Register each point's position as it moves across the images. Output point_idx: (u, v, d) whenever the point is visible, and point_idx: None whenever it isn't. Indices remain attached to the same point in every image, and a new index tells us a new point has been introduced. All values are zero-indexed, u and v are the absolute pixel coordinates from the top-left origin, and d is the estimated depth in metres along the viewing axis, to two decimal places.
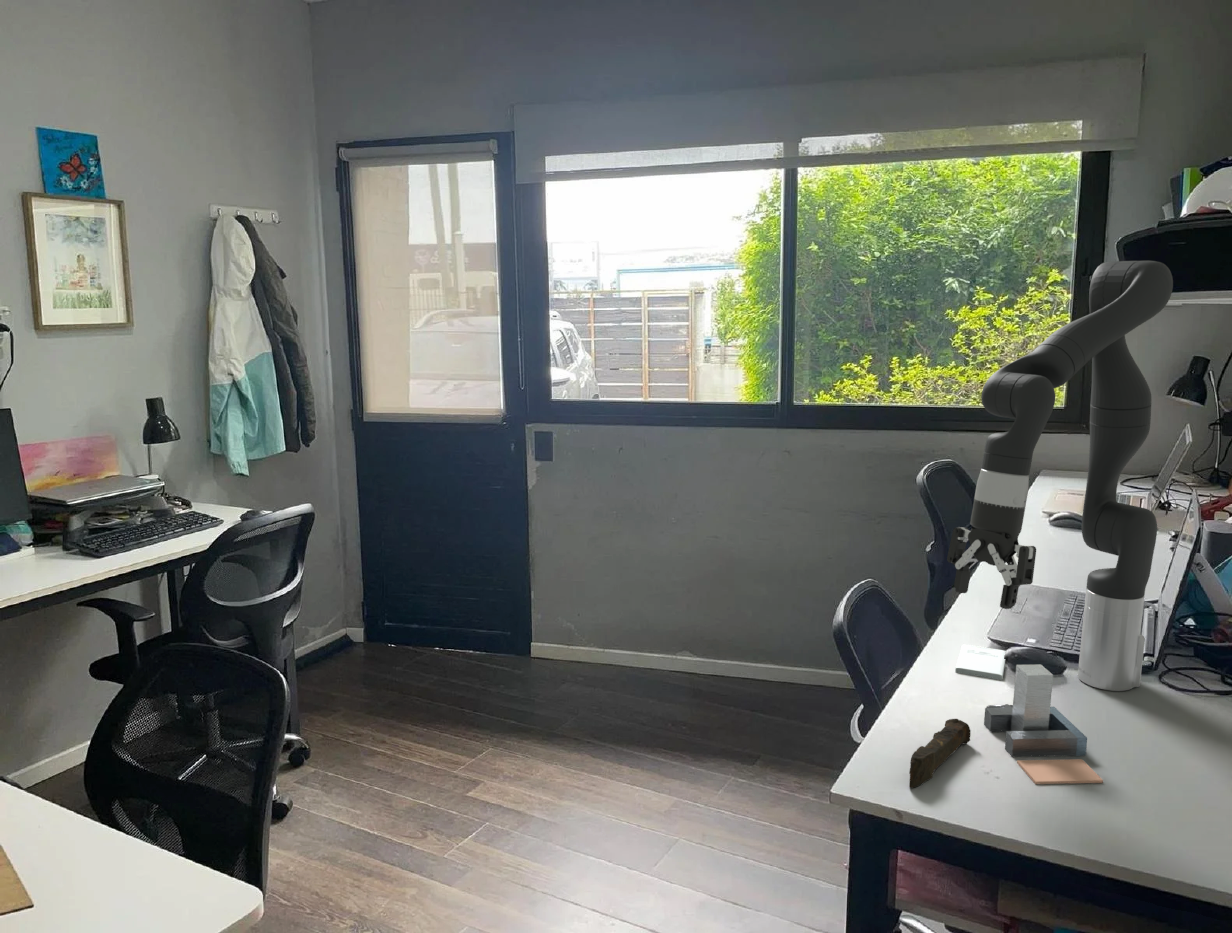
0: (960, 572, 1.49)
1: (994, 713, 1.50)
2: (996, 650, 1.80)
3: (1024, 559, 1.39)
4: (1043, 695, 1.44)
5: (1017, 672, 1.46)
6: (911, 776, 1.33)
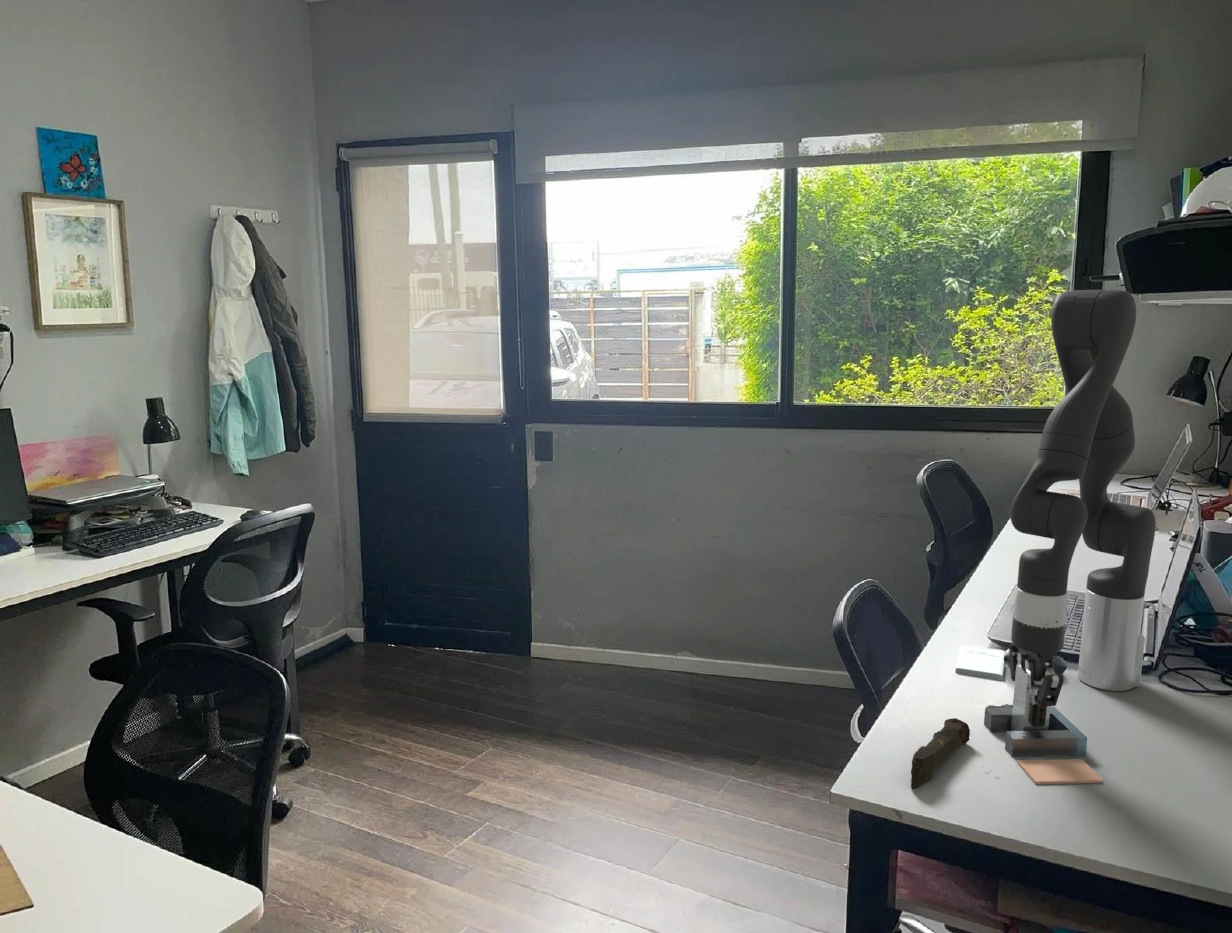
0: None
1: (994, 713, 1.50)
2: (995, 651, 1.80)
3: (1045, 687, 1.39)
4: None
5: (1017, 672, 1.46)
6: (913, 776, 1.33)
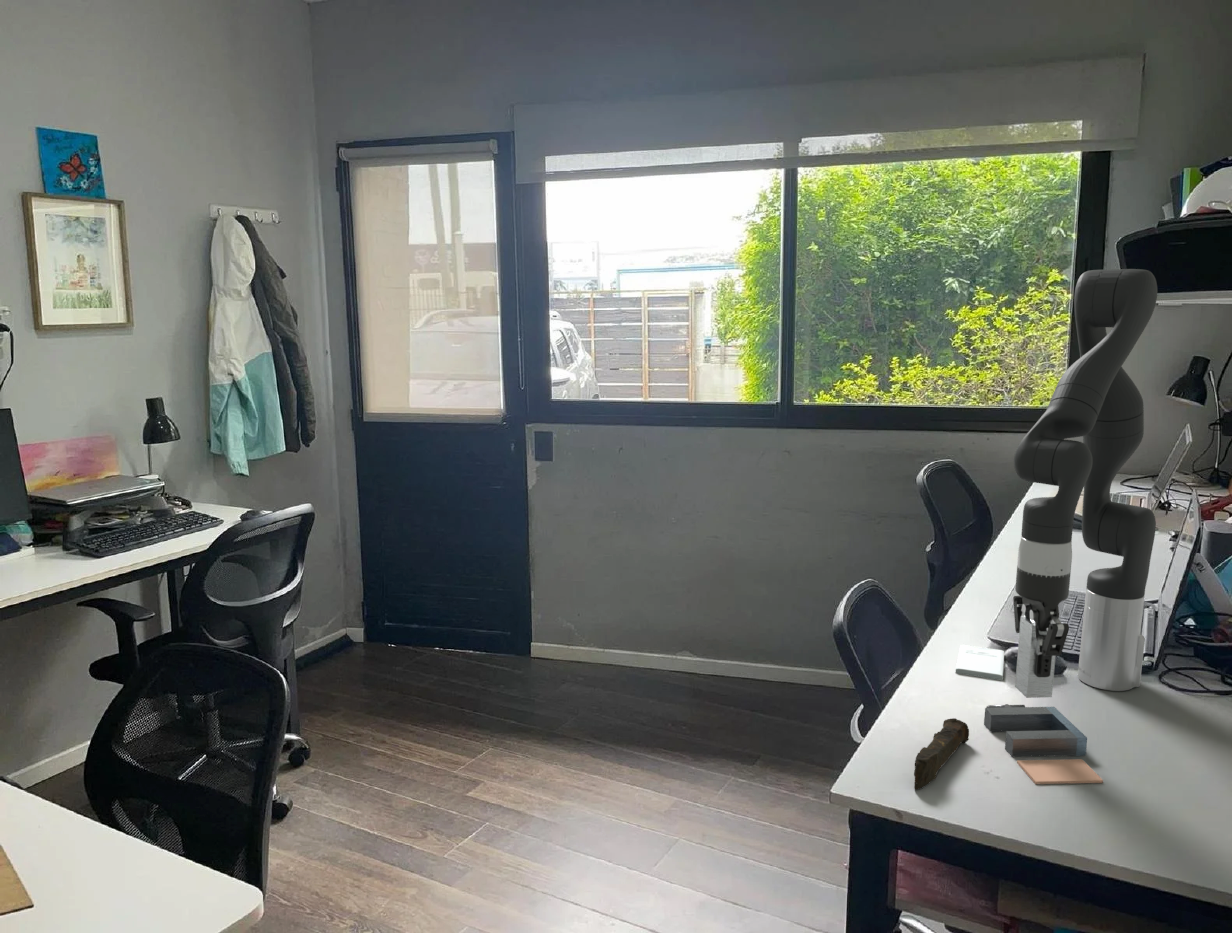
0: None
1: (994, 713, 1.50)
2: (994, 650, 1.80)
3: (1050, 636, 1.37)
4: None
5: (1022, 623, 1.45)
6: (916, 778, 1.33)
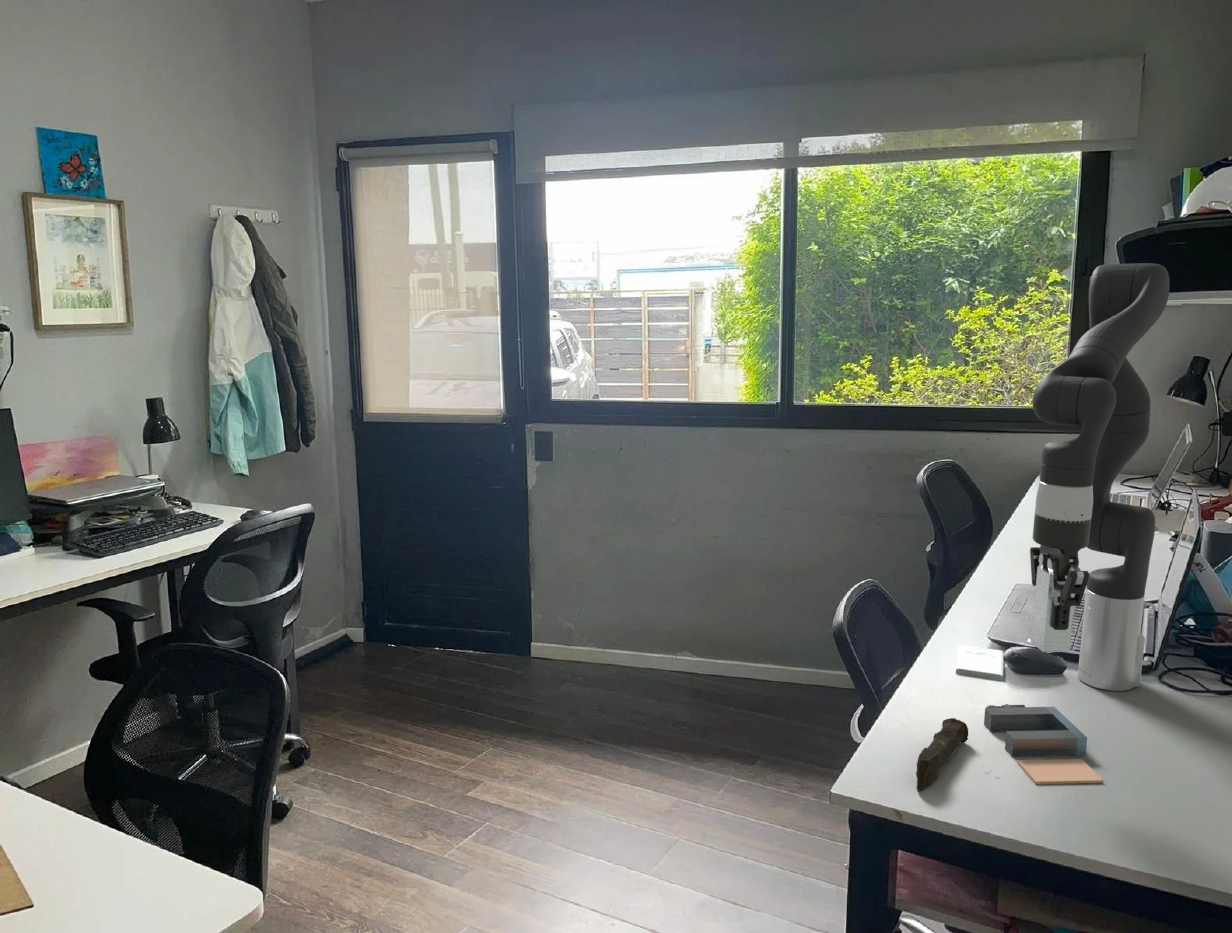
0: None
1: (994, 713, 1.50)
2: (993, 651, 1.80)
3: (1069, 584, 1.31)
4: None
5: (1038, 574, 1.38)
6: (919, 778, 1.32)
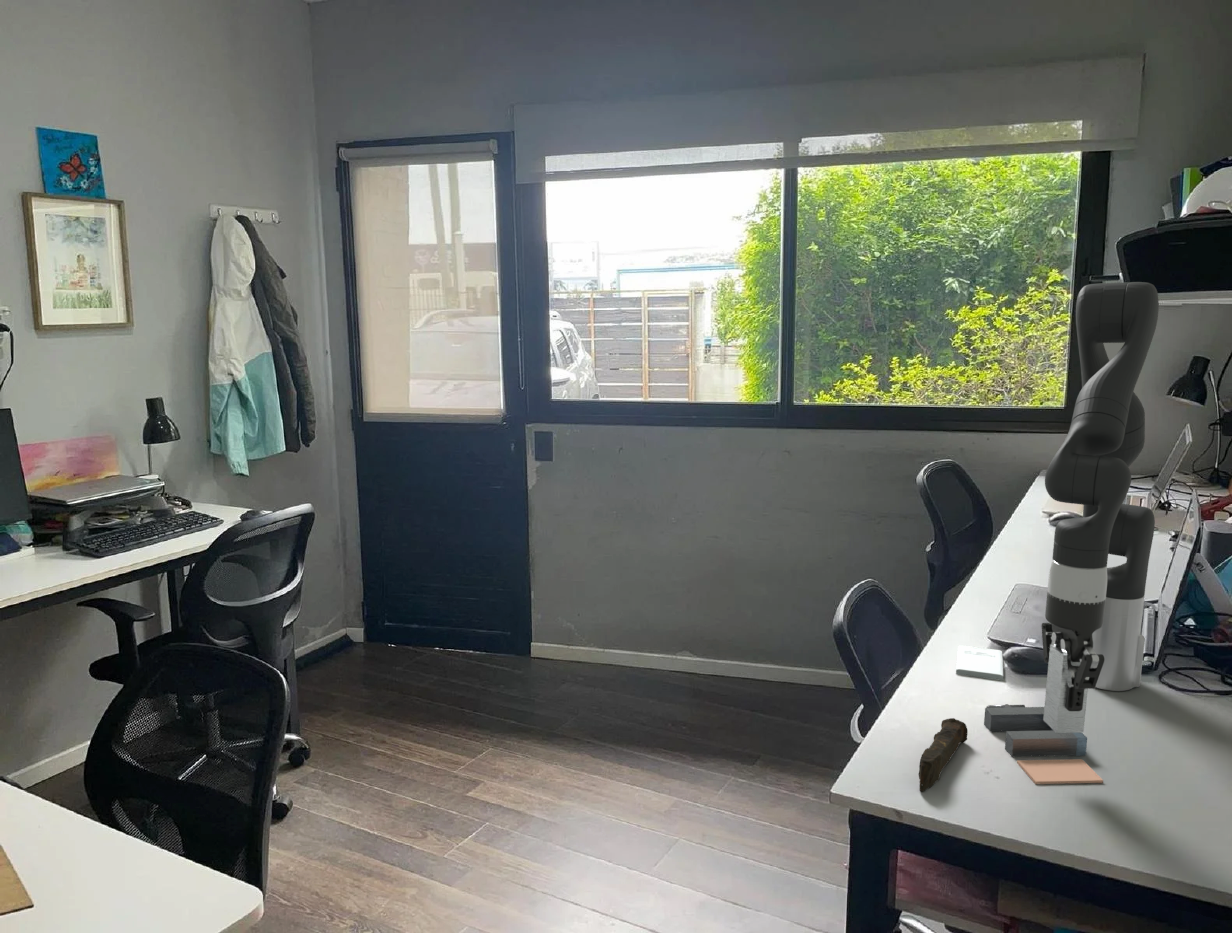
0: None
1: (994, 713, 1.50)
2: (992, 650, 1.80)
3: (1084, 668, 1.28)
4: None
5: (1051, 652, 1.35)
6: (922, 779, 1.32)
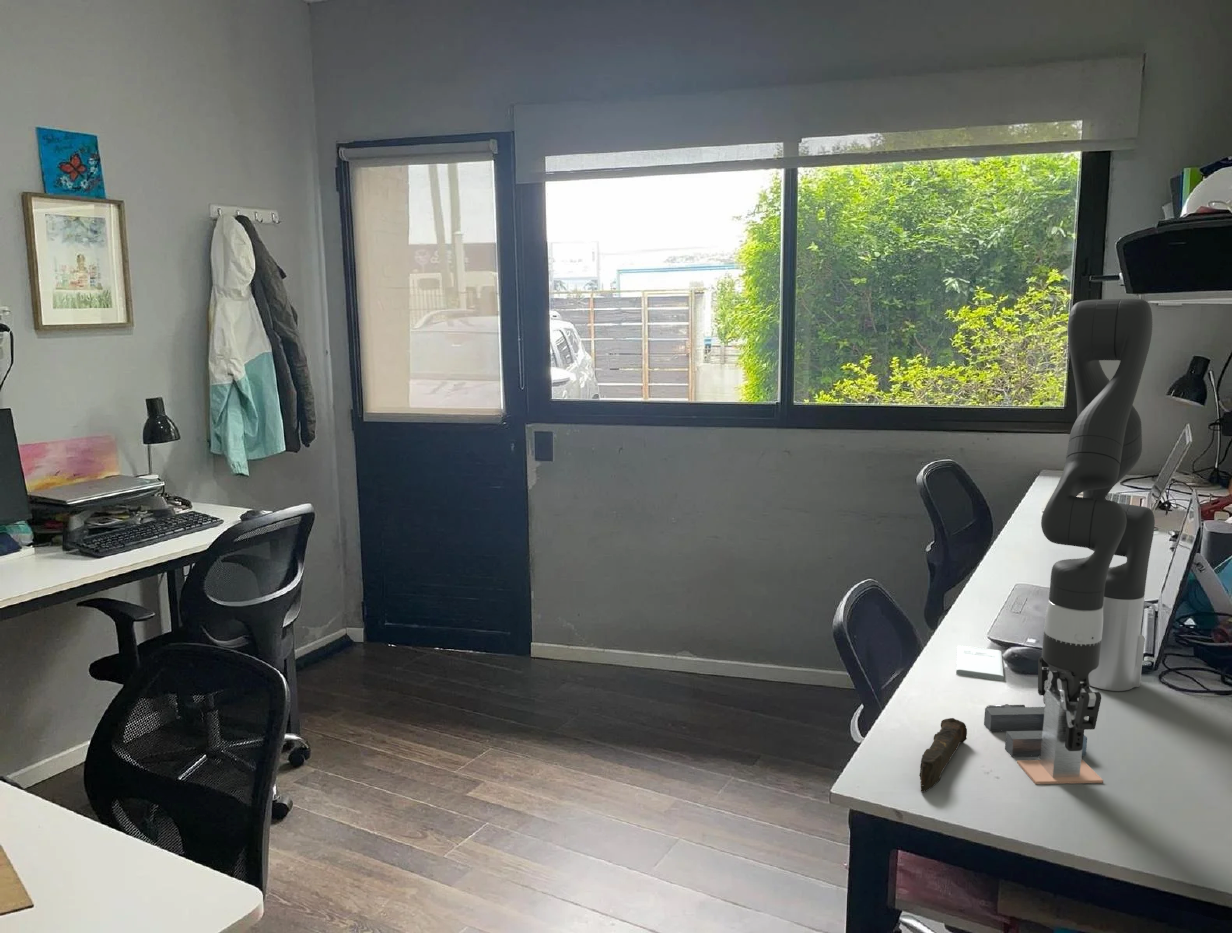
0: None
1: (994, 713, 1.50)
2: (992, 651, 1.80)
3: (1082, 706, 1.28)
4: None
5: (1047, 698, 1.36)
6: (923, 780, 1.32)
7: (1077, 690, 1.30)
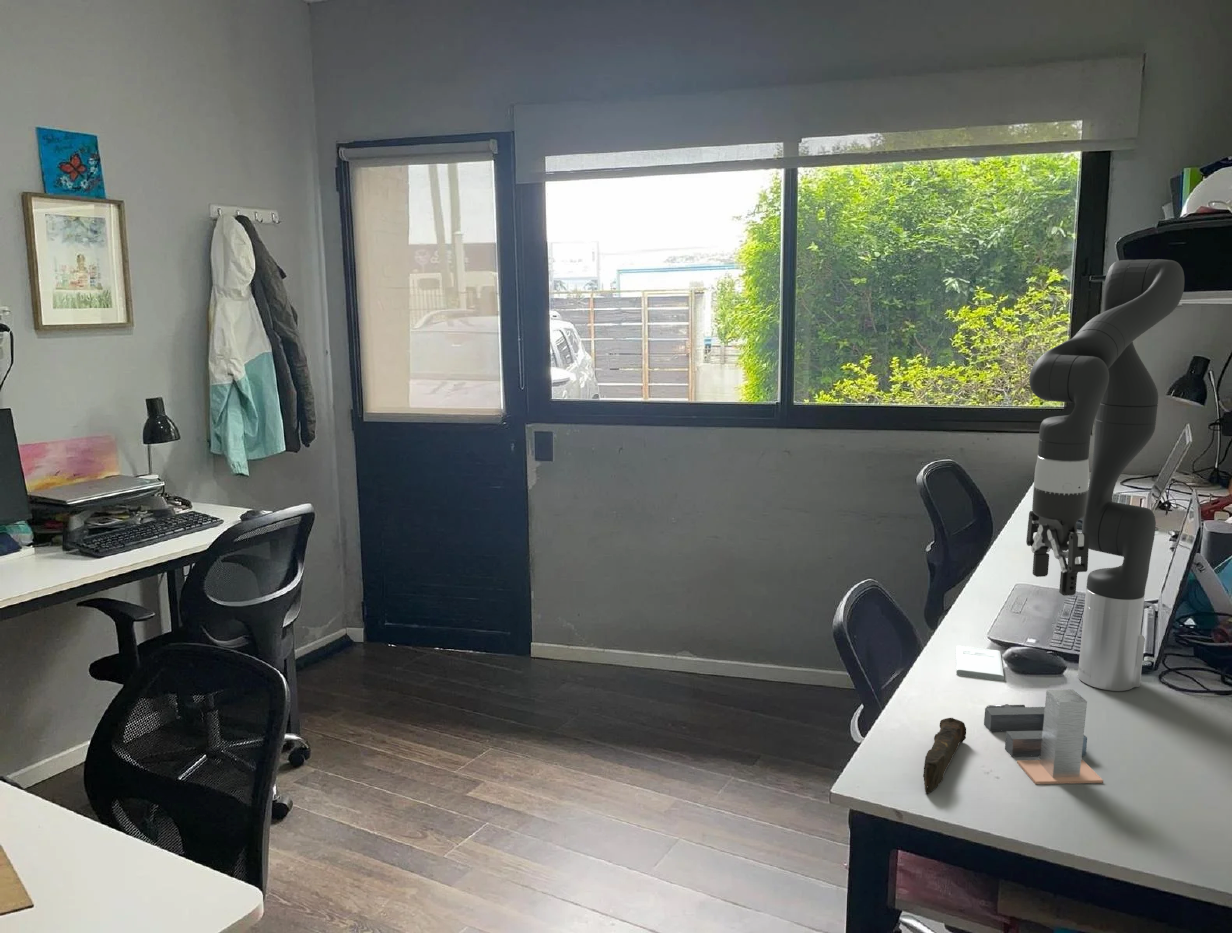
0: (1035, 556, 1.48)
1: (994, 713, 1.50)
2: (991, 651, 1.80)
3: (1072, 547, 1.36)
4: (1076, 723, 1.34)
5: (1047, 698, 1.36)
6: (927, 781, 1.32)
7: None
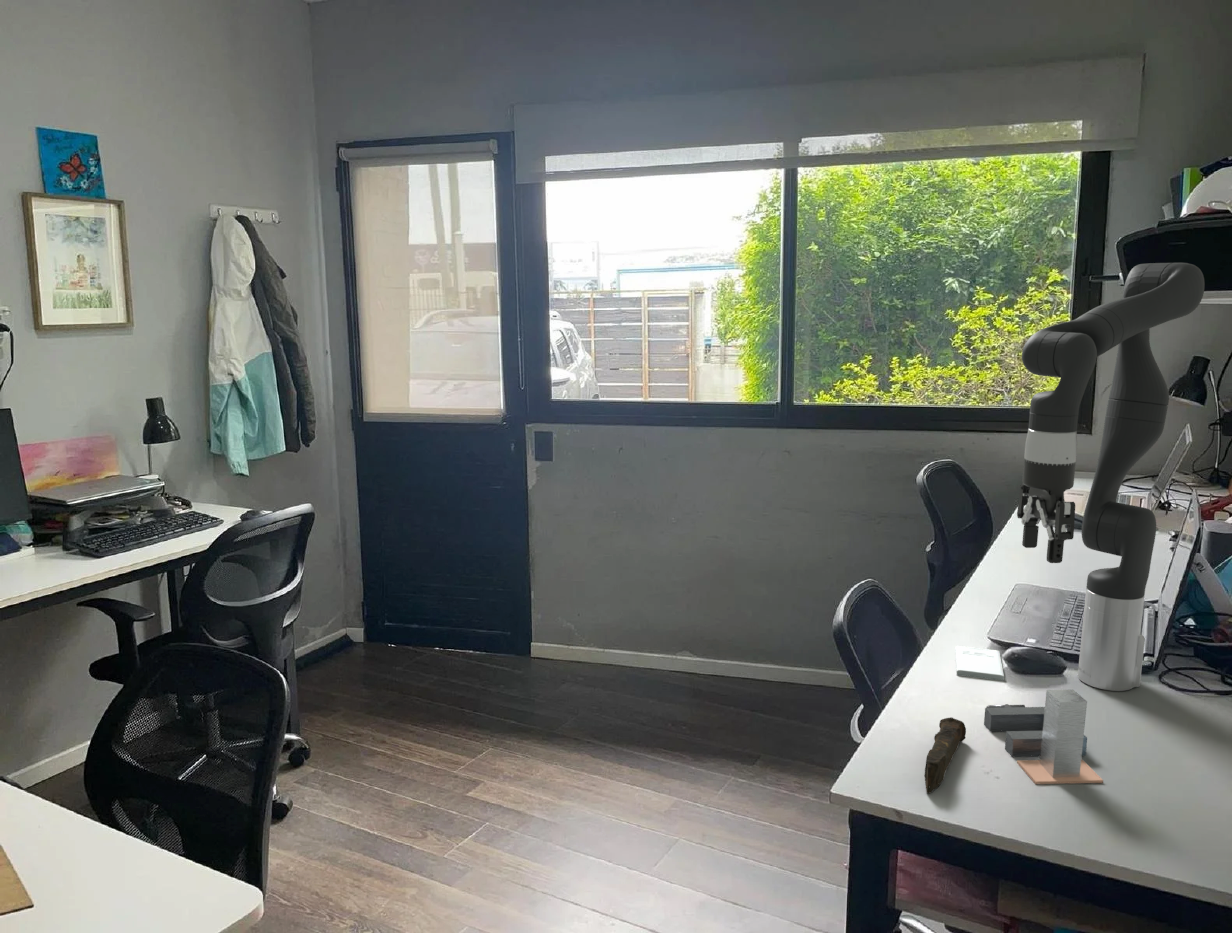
0: (1024, 527, 1.54)
1: (994, 713, 1.50)
2: (990, 651, 1.80)
3: (1059, 515, 1.42)
4: (1076, 723, 1.34)
5: (1047, 698, 1.36)
6: (929, 781, 1.32)
7: None
